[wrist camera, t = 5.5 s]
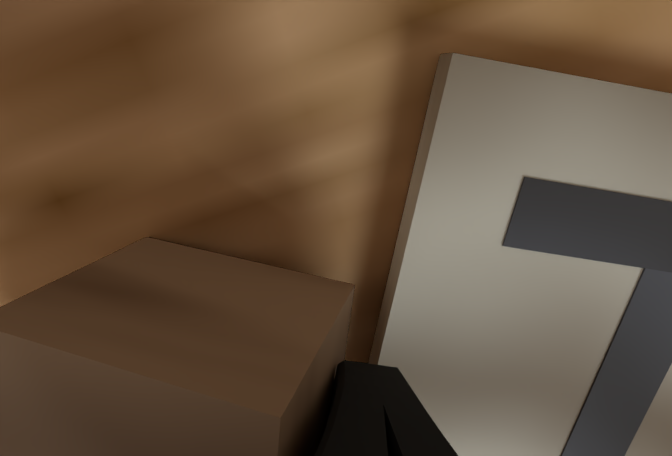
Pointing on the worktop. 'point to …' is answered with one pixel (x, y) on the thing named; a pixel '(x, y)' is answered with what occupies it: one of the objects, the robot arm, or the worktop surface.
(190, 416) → the walnut block
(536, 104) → the letter board
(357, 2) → the worktop surface
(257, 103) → the worktop surface
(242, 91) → the worktop surface
